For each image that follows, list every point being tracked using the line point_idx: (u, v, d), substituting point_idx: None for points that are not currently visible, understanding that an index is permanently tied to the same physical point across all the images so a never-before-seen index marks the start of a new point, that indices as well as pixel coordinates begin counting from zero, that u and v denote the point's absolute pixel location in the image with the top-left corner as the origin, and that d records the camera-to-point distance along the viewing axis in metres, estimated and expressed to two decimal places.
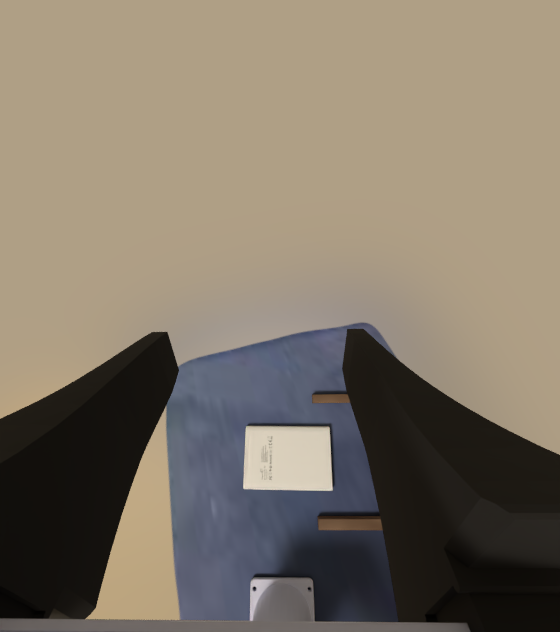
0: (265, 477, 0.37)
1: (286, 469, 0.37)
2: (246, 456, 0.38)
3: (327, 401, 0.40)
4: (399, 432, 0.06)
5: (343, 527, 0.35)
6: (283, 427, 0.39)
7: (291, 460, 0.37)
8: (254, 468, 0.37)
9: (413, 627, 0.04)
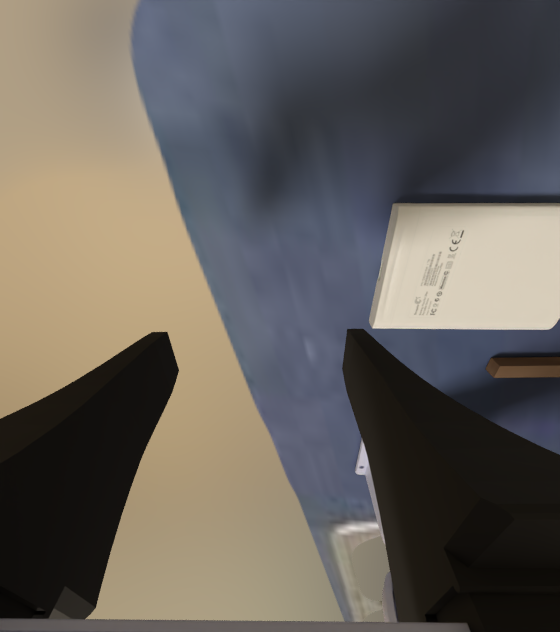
0: (422, 311, 0.18)
1: (473, 298, 0.17)
2: (389, 275, 0.16)
3: None
4: (399, 432, 0.06)
5: (537, 375, 0.20)
6: (500, 208, 0.14)
7: (491, 281, 0.16)
8: (402, 297, 0.17)
9: (413, 627, 0.04)
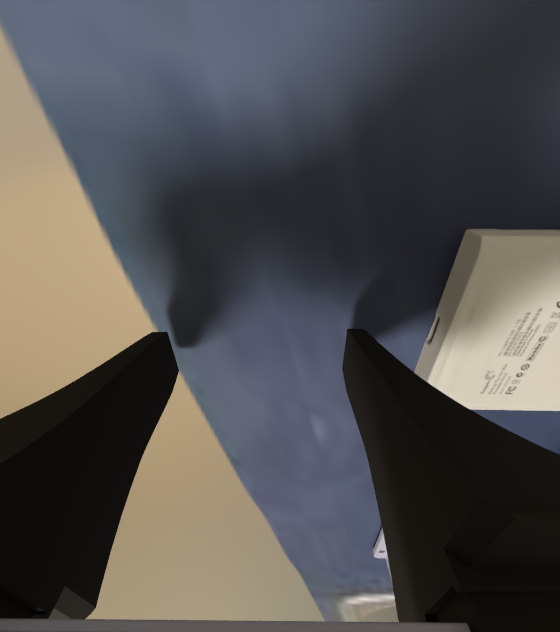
0: (494, 389, 0.11)
1: None
2: (450, 341, 0.10)
3: None
4: (399, 432, 0.06)
5: None
6: None
7: None
8: (466, 371, 0.11)
9: (413, 627, 0.04)
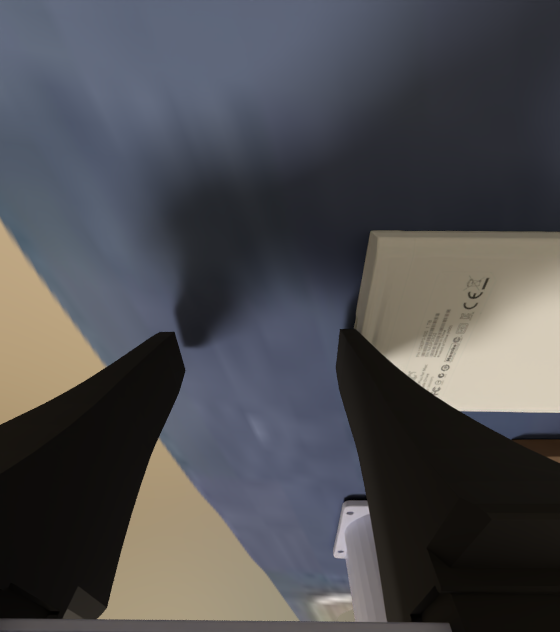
0: None
1: (497, 374, 0.11)
2: None
3: None
4: (387, 432, 0.06)
5: None
6: (553, 242, 0.08)
7: (527, 352, 0.10)
8: None
9: (413, 627, 0.04)
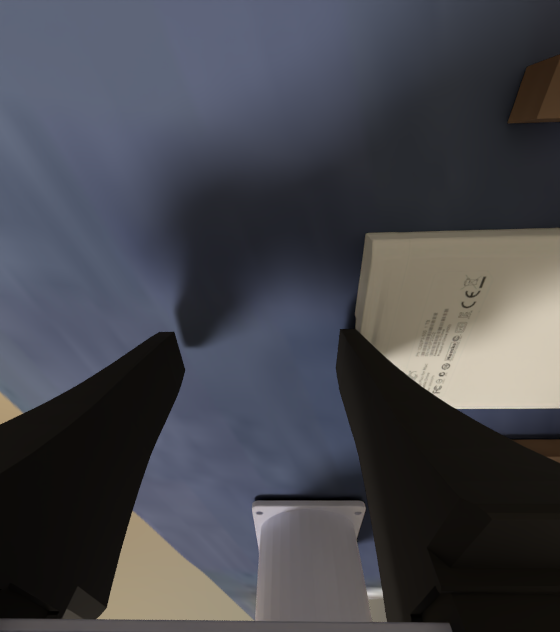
0: None
1: (498, 371, 0.11)
2: None
3: None
4: (387, 432, 0.06)
5: None
6: (550, 239, 0.08)
7: (528, 349, 0.10)
8: None
9: (413, 627, 0.04)
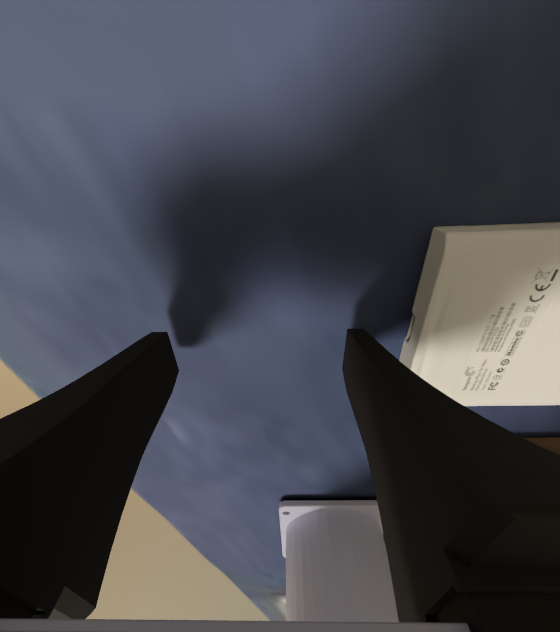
0: (476, 386, 0.11)
1: (558, 366, 0.11)
2: (425, 338, 0.10)
3: None
4: (399, 432, 0.06)
5: None
6: None
7: None
8: (445, 368, 0.11)
9: (413, 627, 0.04)
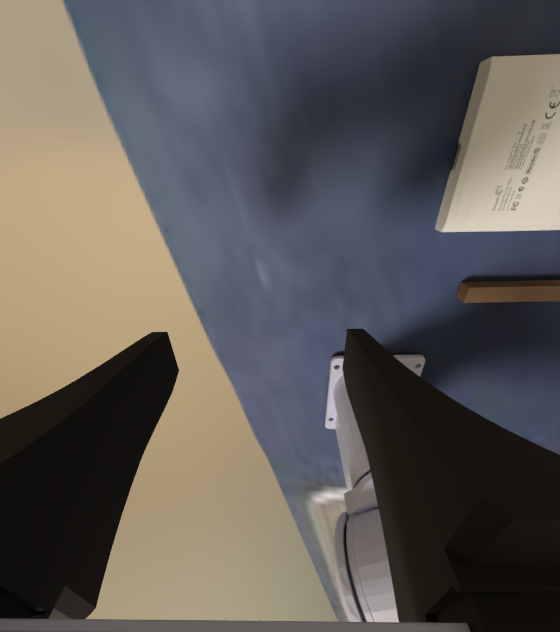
0: (502, 205, 0.15)
1: None
2: (469, 155, 0.14)
3: None
4: (399, 432, 0.06)
5: (510, 299, 0.19)
6: None
7: None
8: (481, 187, 0.15)
9: (413, 627, 0.04)
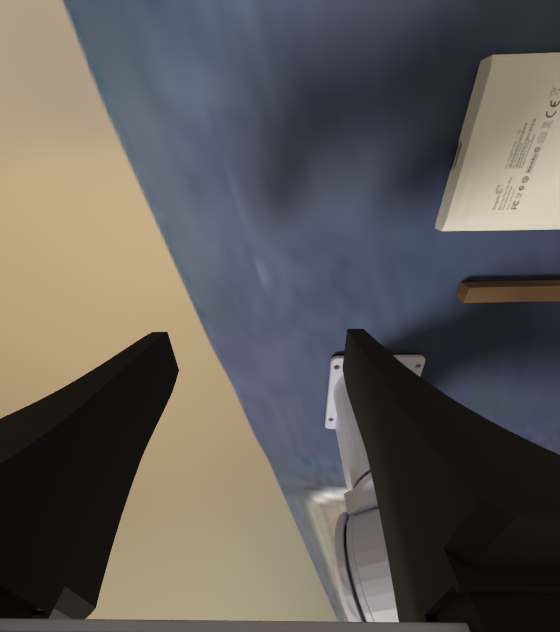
0: (503, 204, 0.15)
1: None
2: (470, 154, 0.14)
3: None
4: (399, 432, 0.06)
5: (510, 299, 0.19)
6: None
7: None
8: (481, 186, 0.15)
9: (413, 627, 0.04)
